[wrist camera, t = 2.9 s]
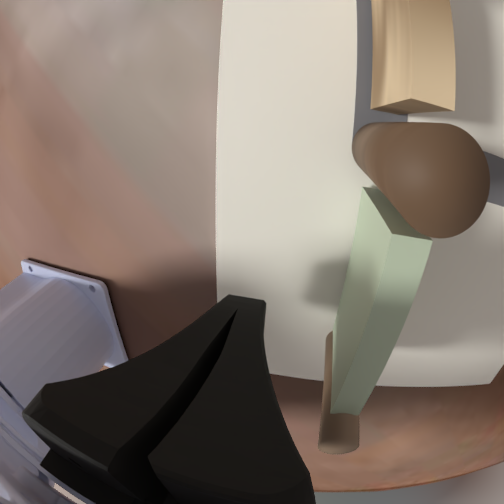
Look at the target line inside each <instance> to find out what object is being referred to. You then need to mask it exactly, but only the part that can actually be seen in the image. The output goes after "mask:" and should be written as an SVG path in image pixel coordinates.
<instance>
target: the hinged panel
mask: <svg viewBox="0 0 504 504" xmlns="http://www.w3.org/2000/svg"><path fill="white" fill-rule="evenodd" d="M432 242H433V240H432V239H431V238H430V237H428V236H426V235H423V234H421V233H419V232H418V231H416V230H415V229H414V228H412V227H411V226H410V225H409V224H408V223H407V222H406V220H405V219H404V218H403V217H402V215H401V214H400V213H399V212H398V211H397V209H396V208H395V207H394V206H393V204H392V203H391V202H390V201H389V200H388V199H387V197H386V196H385V195H384V194H383V193H382V192H381V190H380V189H374V188H368V187H362V191H361V198H360V205H359V211H358V217H357V223H356V228H355V234H354V239H353V244H352V249H351V254H350V259H349V264H348V269H347V273H346V278H345V282H344V286H343V291H342V295H341V299H340V303H339V307H338V311H337V315H336V319H335V323H334V326H333V331H331V332H330V333H329V334H328V335H327V337H326V344H325V366H324V383H323V397H322V410H321V421H320V431H319V440H318V449H319V450H320V451H322V452H324V453H327V454H345V453H349V452H352V451H354V450H356V449H357V448H358V447H359V414H360V412H361V410H362V409H363V407H364V405H365V403H366V402H367V400H368V398H369V396H370V394H371V393H372V391H373V389H374V387H375V385H376V383H377V381H378V379H379V378H380V376H381V374H382V372H383V370H384V368H385V366H386V364H387V361H388V359H389V357H390V355H391V353H392V351H393V349H394V347H395V344H396V342H397V340H398V338H399V335H400V333H401V331H402V328H403V326H404V323H405V321H406V319H407V316H408V314H409V311H410V308H411V306H412V303H413V301H414V298H415V295H416V292H417V290H418V287H419V284H420V281H421V278H422V275H423V272H424V269H425V266H426V262H427V259H428V256H429V252H430V249H431V245H432Z"/></svg>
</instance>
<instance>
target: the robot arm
mask: <svg viewBox="0 0 504 504" xmlns="http://www.w3.org/2000/svg"><path fill="white" fill-rule="evenodd" d="M21 266H22V269H23V272H24V273H22V274H21V275H19V276H18V277H17V278H15V279H14V280H12V281H11V282H10V283H8V284H7V285H6V286H4V287H3V288H2V289H0V504H77V503H75V502H74V501H72V500H71V499H69V498H68V497H66V496H64V495H63V494H61V493H60V492H58V491H57V490H56V489H54V483H56V484H58V485H59V486H61V487H62V488H64V489H65V490H66V491H68V492H69V493H71V494H72V495H74V496H75V497H77V498H78V499H80V500H81V501H83V502H85V503H86V504H316V502H315V495H314V490H313V486H312V482H311V477H310V473H309V471H308V469H307V467H306V465H305V464H304V462H303V460H302V458H301V456H300V454H299V452H298V450H297V448H296V446H295V444H294V442H293V440H292V437H291V435H290V433H289V431H288V428H287V426H286V423H285V421H284V418H283V415H282V413H281V410H280V407H279V405H278V402H277V398H276V395H275V392H274V389H273V385H272V381H271V377H270V373H269V369H268V364H267V358H266V352H265V345H264V326H265V315H266V302H265V301H264V300H261V299H255V298H248V297H242V296H236V295H231V294H228V295H227V296H226V297H224V298H223V299H222V300H221V301H219V302H218V303H217V304H216V305H215V306H213V307H212V308H211V309H210V310H209V311H207V312H206V313H205V314H204V315H202V316H201V317H200V318H198V319H197V320H196V321H194V322H193V323H192V324H190V325H189V326H188V327H186V328H185V329H184V330H182V331H181V332H179V333H178V334H176V335H175V336H173V337H172V338H170V339H169V340H167V341H165V342H164V343H162V344H160V345H159V346H157V347H155V348H153V349H152V350H150V351H148V352H146V353H144V354H142V355H140V356H138V357H135V358H133V359H131V360H128V358H127V355H126V352H125V349H124V346H123V342H122V339H121V336H120V333H119V330H118V326H117V323H116V319H115V316H114V312H113V309H112V305H111V301H110V297H109V293H108V289H107V286H106V285H105V283H103V282H102V281H100V280H96V279H93V278H89V277H85V276H81V275H78V274H74V273H71V272H67V271H64V270H60V269H57V268H53V267H50V266H47V265H43V264H40V263H37V262H33V261H30V260H27V259H24V260H22V261H21ZM103 365H105V366H108V367H110V368H109V369H106V370H103V371H100V372H99V370H100V369H101V368H102V367H103Z"/></svg>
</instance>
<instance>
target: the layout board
mask: <svg viewBox="0 0 504 504" xmlns="http://www.w3.org/2000/svg"><path fill="white" fill-rule="evenodd" d="M450 6H451V13H452V21H453V31H454V44H455V67H456V89H455V111H444V112H425V113H411V114H400V115H396V114H392V113H387V112H382V111H377V110H372V109H370V108H371V90H372V58H373V36H372V6H371V0H223V12H222V25H221V41H220V58H219V79H218V103H217V138H216V277H217V303H218V302H219V301H221V300H222V299H223V298H224V297H226V296H227V295H228V294H231V295H236V296H242V297H248V298H255V299H261V300H264V301H265V302H266V315H265V326H264V345H265V352H266V358H267V364H268V369H269V373H270V374H276V375H282V376H289V377H296V378H303V379H310V380H318V381H324V366H325V344H326V337H327V335H328V334H329V333H330V332H331V331H333V326H334V323H335V319H336V315H337V311H338V307H339V303H340V299H341V295H342V291H343V286H344V282H345V278H346V273H347V269H348V264H349V259H350V254H351V249H352V244H353V239H354V234H355V228H356V223H357V217H358V211H359V205H360V198H361V191H362V187H368V188H374V189H379V188H378V187H377V186H376V185H375V184H374V183H373V181H372V180H371V179H370V178H369V177H368V176H367V175H366V174H365V173H364V172H363V171H362V170H361V168H360V167H359V166H358V165H357V163H356V162H355V160H354V158H353V154H352V142H353V138H354V136H355V134H356V133H357V131H358V130H359V129H360V128H361V127H363V126H364V125H366V124H369V123H374V122H432V123H448V124H452V125H455V126H457V127H460V128H462V129H463V130H465V131H466V132H468V133H469V134H470V135H471V136H472V137H473V138H474V139H475V140H476V141H477V143H478V144H479V145H480V147H481V149H482V150H483V152H484V154H485V157H486V159H487V163H488V166H489V172H490V190H489V196H488V199H487V203H486V205H485V208H484V210H483V212H482V214H481V215H480V217H479V218H478V219H477V221H476V222H475V223H474V224H473V225H472V226H471V227H470V228H469V229H467V230H466V231H464V232H463V233H461V234H459V235H456V236H454V237H450V238H432V237H430V238H431V239H432V240H433V242H432V245H431V249H430V252H429V256H428V259H427V262H426V266H425V269H424V272H423V275H422V278H421V281H420V284H419V287H418V290H417V292H416V295H415V298H414V301H413V303H412V306H411V308H410V311H409V314H408V316H407V319H406V321H405V323H404V326H403V328H402V331H401V333H400V335H399V338H398V340H397V342H396V344H395V347H394V349H393V351H392V353H391V355H390V357H389V359H388V361H387V364H386V366H385V368H384V370H383V372H382V374H381V376H380V378H379V379H378V381H377V383H376V385H375V386H398V387H446V386H467V385H481V384H490V383H491V381H492V380H493V379H494V377H495V376H496V375H497V373H498V372H499V370H500V369H501V367H502V366H503V364H504V0H450Z"/></svg>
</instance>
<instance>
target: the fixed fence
mask: <svg viewBox="0 0 504 504" xmlns="http://www.w3.org/2000/svg"><path fill="white" fill-rule="evenodd" d="M371 6H372V36H373V58H372V90H371V108H370V109H372V110H377V111H382V112H387V113H392V114H396V115H400V114H411V113H425V112H444V111H455V89H456V67H455V44H454V31H453V21H452V13H451V6H450V0H371ZM352 154H353V158H354V160H355V162H356V163H357V165H358V166H359V167H360V168H361V170H362V171H363V172H364V173H365V174H366V175H367V176H368V177H369V178H370V179H371V180H372V181H373V183H374V184H375V185H376V186H377V187H378V188H379V189H380V190H381V192H382V193H383V194H384V195H385V196H386V197H387V199H388V200H389V201H390V202H391V203H392V204H393V206H394V207H395V208H396V209H397V211H398V212H399V213H400V214H401V215H402V217H403V218H404V219H405V220H406V222H407V223H408V224H409V225H410V226H411V227H412V228H414V229H415V230H416V231H418V232H419V233H421V234H423V235H426V236H428V237H432V238H450V237H454V236H456V235H459V234H461V233H463V232H464V231H466V230H467V229H469V228H470V227H471V226H472V225H473V224H474V223H475V222H476V221H477V219H478V218H479V217H480V215H481V214H482V212H483V210H484V208H485V205H486V203H487V199H488V196H489V190H490V172H489V166H488V163H487V159H486V157H485V154H484V152H483V150H482V149H481V147H480V145H479V144H478V143H477V141H476V140H475V139H474V138H473V137H472V136H471V135H470V134H469V133H468V132H466V131H465V130H463V129H462V128H460V127H457V126H455V125H452V124H448V123H432V122H374V123H369V124H366V125H364V126H363V127H361V128H360V129H359V130H358V131H357V133H356V134H355V136H354V138H353V142H352Z"/></svg>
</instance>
